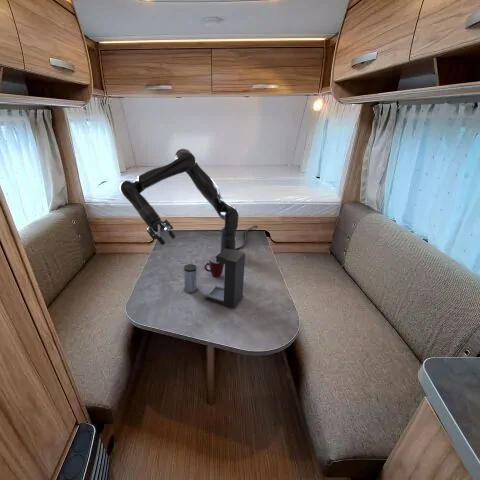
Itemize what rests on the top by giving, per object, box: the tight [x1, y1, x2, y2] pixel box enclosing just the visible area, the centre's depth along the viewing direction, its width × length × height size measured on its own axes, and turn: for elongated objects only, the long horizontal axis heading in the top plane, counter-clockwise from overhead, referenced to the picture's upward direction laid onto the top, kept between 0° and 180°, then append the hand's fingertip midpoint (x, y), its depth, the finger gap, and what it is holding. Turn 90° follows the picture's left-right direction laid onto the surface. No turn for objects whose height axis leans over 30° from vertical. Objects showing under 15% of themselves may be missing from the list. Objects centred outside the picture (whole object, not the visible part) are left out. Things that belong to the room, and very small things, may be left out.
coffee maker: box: [205, 249, 246, 309], centre depth 124 cm, size 15×11×24 cm
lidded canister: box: [183, 263, 198, 294], centre depth 133 cm, size 6×6×13 cm
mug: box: [204, 256, 225, 279], centre depth 146 cm, size 11×8×10 cm
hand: (169, 240), depth 131 cm, fingers open, 8 cm apart
